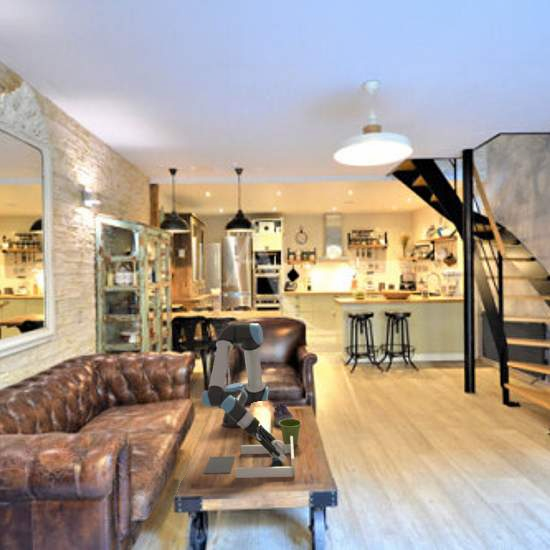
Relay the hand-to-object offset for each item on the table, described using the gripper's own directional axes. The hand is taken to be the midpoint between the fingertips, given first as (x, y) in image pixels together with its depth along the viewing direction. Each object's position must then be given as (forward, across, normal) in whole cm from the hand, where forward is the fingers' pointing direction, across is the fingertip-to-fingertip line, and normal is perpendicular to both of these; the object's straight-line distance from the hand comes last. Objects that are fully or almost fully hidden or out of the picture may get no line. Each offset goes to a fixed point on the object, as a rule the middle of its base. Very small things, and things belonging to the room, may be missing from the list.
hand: (284, 456), depth 189 cm
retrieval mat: (-19, 0, -24) cm, 31 cm away
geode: (+2, -55, -4) cm, 55 cm away
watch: (0, 0, -5) cm, 5 cm away
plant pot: (+5, -22, 0) cm, 22 cm away
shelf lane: (-4, 0, -8) cm, 9 cm away
